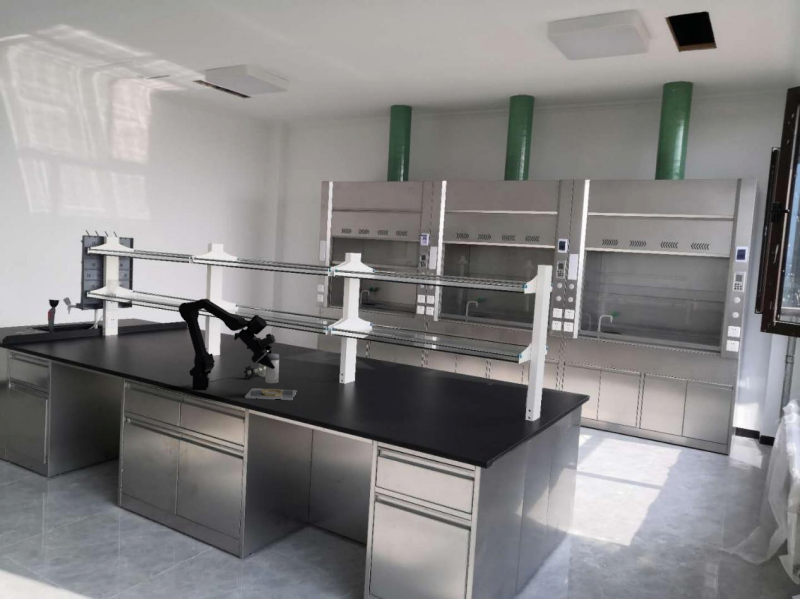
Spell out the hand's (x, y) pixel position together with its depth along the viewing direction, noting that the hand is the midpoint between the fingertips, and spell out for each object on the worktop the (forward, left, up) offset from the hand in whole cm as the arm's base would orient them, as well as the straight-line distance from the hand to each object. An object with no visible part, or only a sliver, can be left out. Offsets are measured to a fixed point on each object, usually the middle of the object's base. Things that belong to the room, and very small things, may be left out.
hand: (275, 367), depth 273 cm
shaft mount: (-1, 0, -13) cm, 13 cm away
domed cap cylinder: (-1, 0, -7) cm, 7 cm away
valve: (-10, +36, -13) cm, 40 cm away
